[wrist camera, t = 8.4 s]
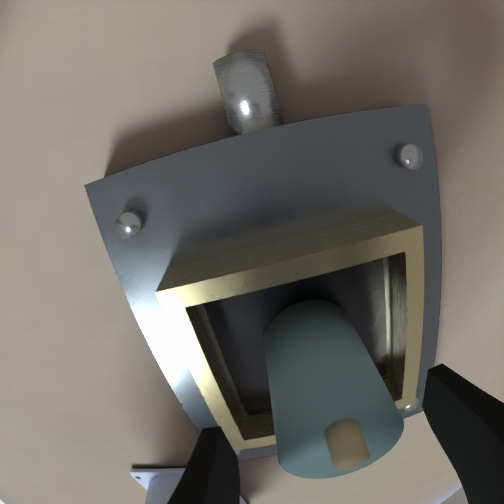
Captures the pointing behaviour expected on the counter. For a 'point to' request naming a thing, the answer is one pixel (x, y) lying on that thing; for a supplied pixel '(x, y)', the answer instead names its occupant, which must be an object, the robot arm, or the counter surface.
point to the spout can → (326, 393)
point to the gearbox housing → (278, 247)
